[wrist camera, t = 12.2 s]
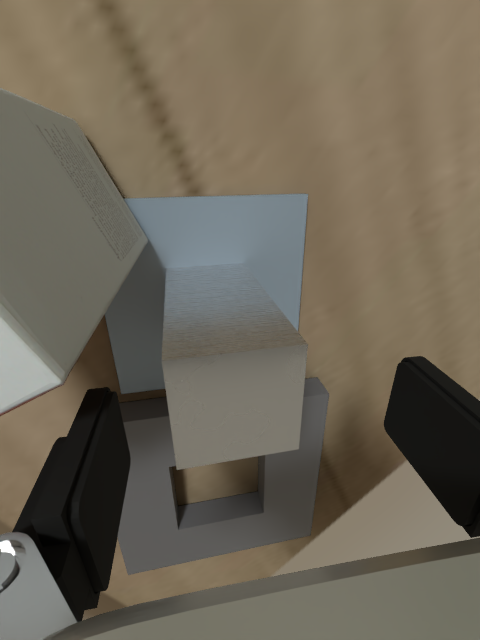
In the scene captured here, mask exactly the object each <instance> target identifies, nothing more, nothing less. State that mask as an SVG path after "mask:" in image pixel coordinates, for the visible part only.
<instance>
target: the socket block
mask: <svg viewBox="0 0 480 640" xmlns="http://www.w3.org/2000/svg"><path fill="white" fill-rule="evenodd" d="M328 398H329V393H328V391H327V390H326V389H325V387H324V386H323V384H322V383H321V382H320V380H319V379H318V377H316V378H309V379H305V383H304V394H303V406H302V418H301V429H300V441H299V449H297V450H291V451H285V452H279V453H273V454H268V455H262V456H258V491H257V492H252V493H246V494H241V495H236V496H230V497H225V498H220V499H214V500H209V501H204V502H198V503H193V504H188V505H182V506H178V505H177V498H176V491H175V484H174V477H173V470H172V466H176V460H175V453H174V446H173V439H172V432H171V425H170V417H169V410H168V403H167V397H162V398H154V399H146V400H139V401H131V402H123V403H119V406H120V410H121V415H122V419H123V424H124V428H125V433H126V438H127V442H128V447H129V451H130V458H131V463H130V471H129V476H128V481H127V487H126V492H125V498H124V503H123V509H122V514H121V520H120V525H119V531H118V536H117V537H118V541H119V544H120V548H121V551H122V555H123V558H124V562H125V566H126V569H127V573H128V575H130V574H135V573H139V572H144V571H149V570H153V569H158V568H162V567H167V566H172V565H176V564H181V563H185V562H190V561H195V560H199V559H204V558H208V557H213V556H218V555H222V554H227V553H231V552H236V551H241V550H245V549H250V548H255V547H259V546H264V545H268V544H273V543H278V542H282V541H287V540H291V539H296V538H301V537H305V536H310V535H311V528H312V520H313V512H314V505H315V497H316V490H317V482H318V474H319V467H320V459H321V452H322V444H323V436H324V429H325V421H326V414H327V406H328Z"/></svg>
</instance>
